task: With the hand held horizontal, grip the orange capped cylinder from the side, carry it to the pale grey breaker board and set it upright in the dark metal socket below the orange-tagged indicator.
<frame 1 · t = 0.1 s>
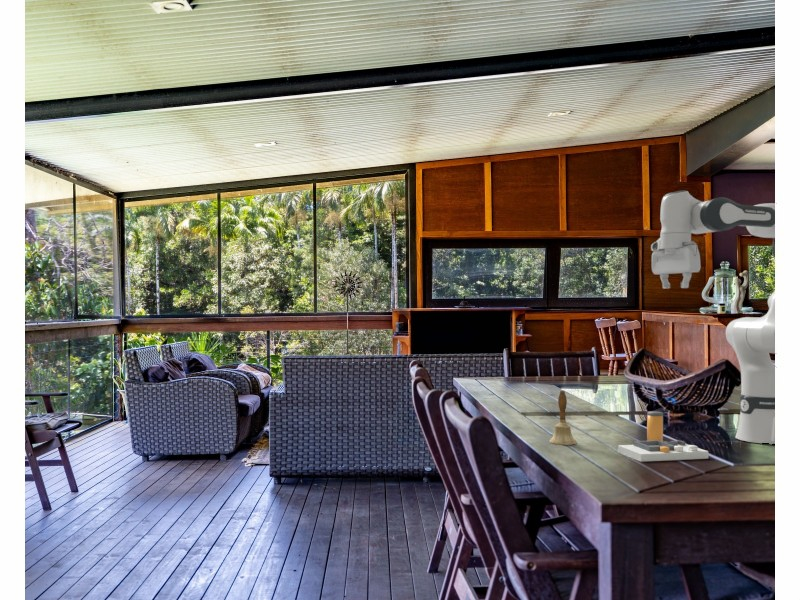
hand: (675, 288, 214), 48 cm above the table, tool pointing down, fingers open, 8 cm apart
hand bell: (562, 443, 215), on the table
orange capped cylinder: (654, 445, 212), on the table
breaker board: (662, 455, 198), on the table
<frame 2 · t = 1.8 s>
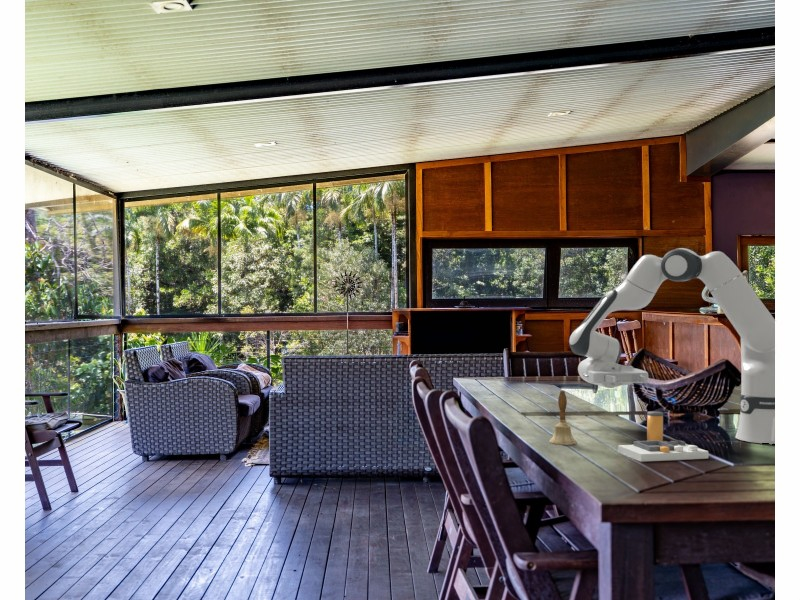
hand: (630, 379, 225), 18 cm above the table, tool horizontal, fingers open, 8 cm apart
nothing on the table moved.
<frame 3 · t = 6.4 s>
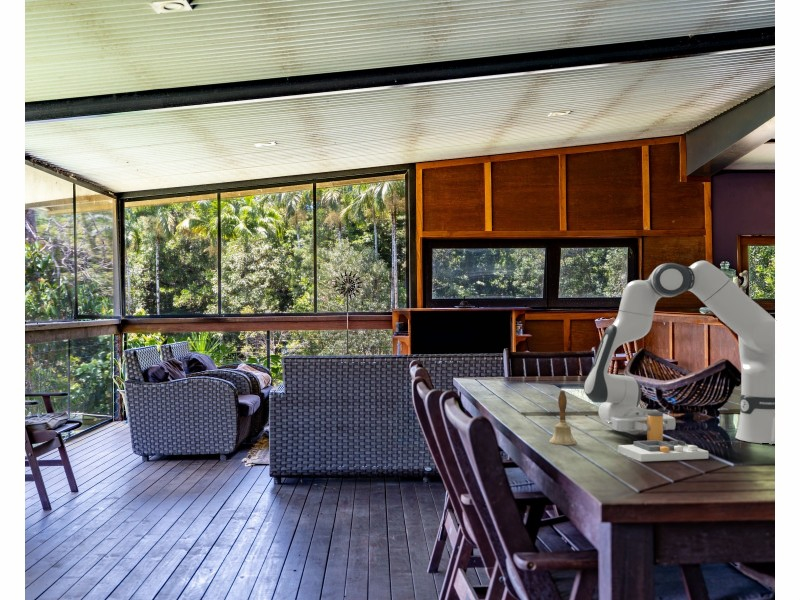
hand: (656, 427, 211), 6 cm above the table, tool horizontal, fingers closed on orange capped cylinder, 4 cm apart
orange capped cylinder: (654, 445, 212), on the table, touching gripper
everything else where it was.
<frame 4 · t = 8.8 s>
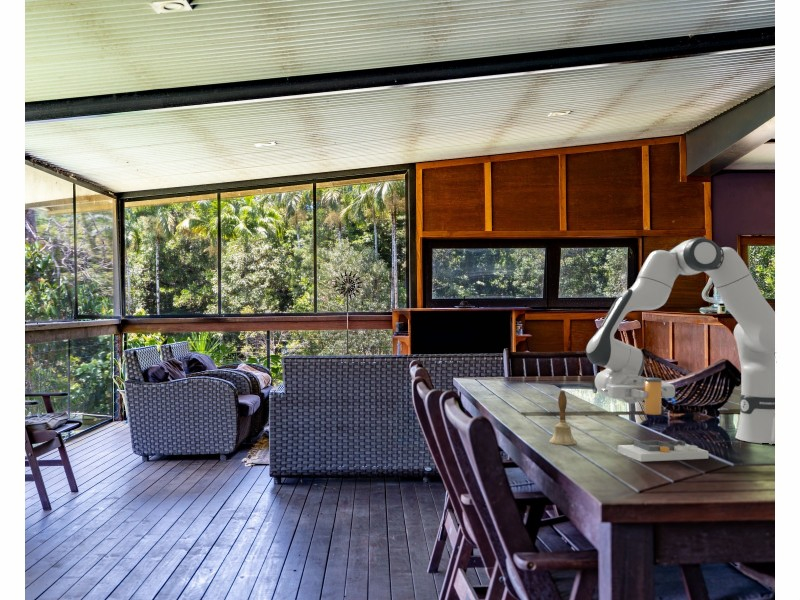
hand: (654, 394, 199), 17 cm above the table, tool horizontal, fingers closed on orange capped cylinder, 4 cm apart
orange capped cylinder: (652, 413, 200), point 12 cm above the table, touching gripper
everything else where it was.
when the fingers open (8 cm above the table, at t = 11.0 s): orange capped cylinder stays where it is, resting on breaker board.
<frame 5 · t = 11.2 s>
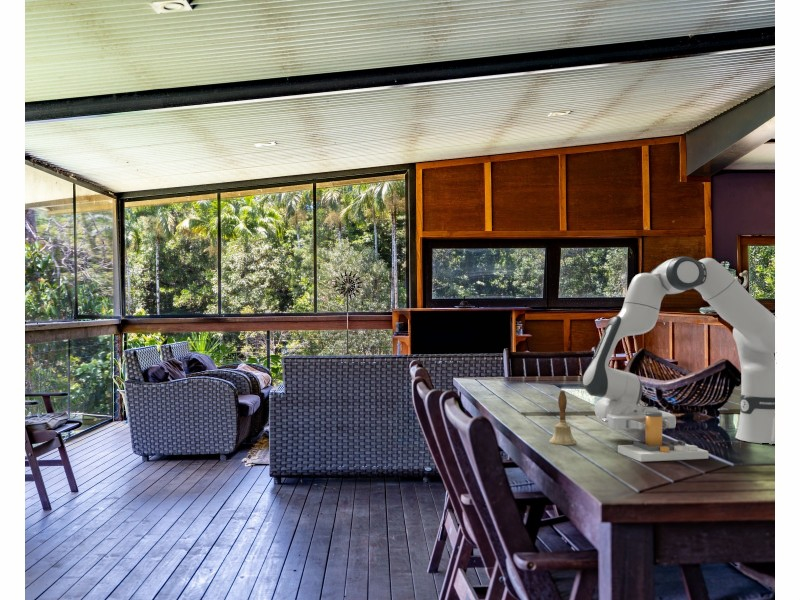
hand: (655, 425, 197), 8 cm above the table, tool horizontal, fingers open, 7 cm apart
orange capped cylinder: (653, 447, 198), point 2 cm above the table, touching breaker board
everything else where it was.
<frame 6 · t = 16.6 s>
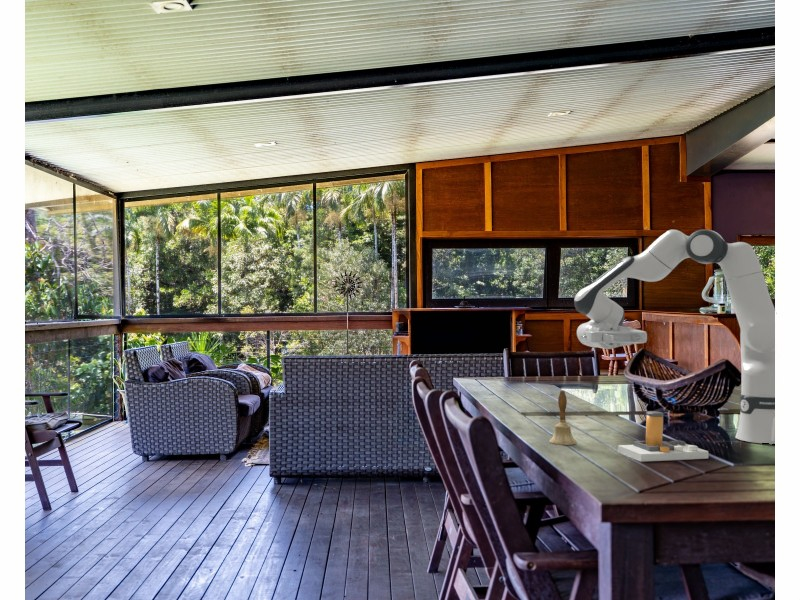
hand: (628, 338, 223), 32 cm above the table, tool horizontal, fingers open, 8 cm apart
nothing on the table moved.
at the end: orange capped cylinder 0.1 cm from the target spot on the breaker board, point 2.1 cm above the breaker board's base; orange capped cylinder tilted 2°; the gripper is holding nothing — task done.
